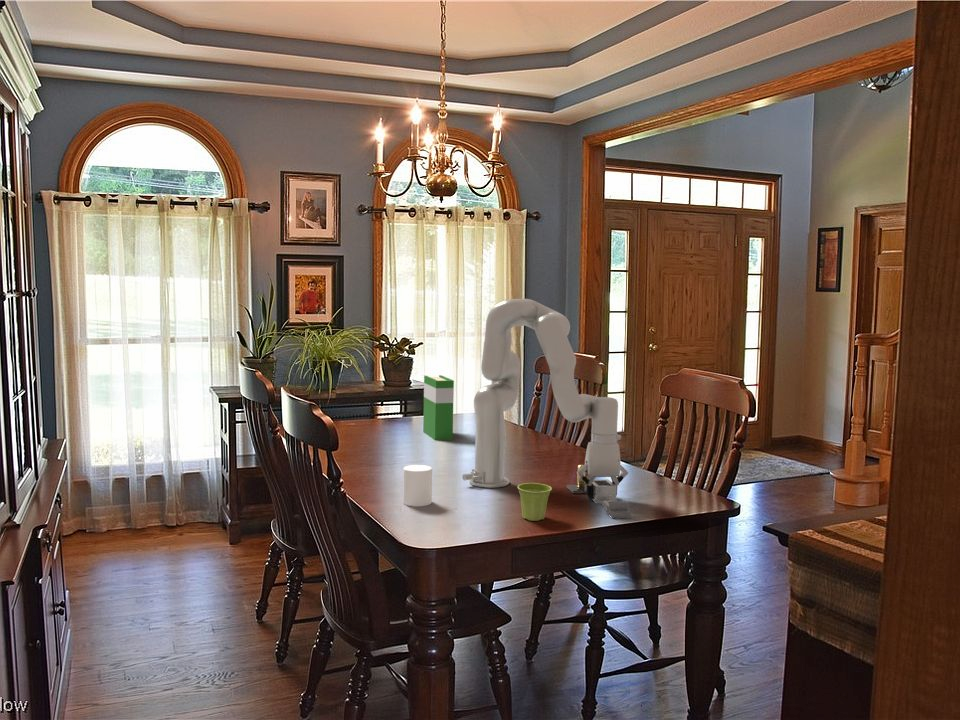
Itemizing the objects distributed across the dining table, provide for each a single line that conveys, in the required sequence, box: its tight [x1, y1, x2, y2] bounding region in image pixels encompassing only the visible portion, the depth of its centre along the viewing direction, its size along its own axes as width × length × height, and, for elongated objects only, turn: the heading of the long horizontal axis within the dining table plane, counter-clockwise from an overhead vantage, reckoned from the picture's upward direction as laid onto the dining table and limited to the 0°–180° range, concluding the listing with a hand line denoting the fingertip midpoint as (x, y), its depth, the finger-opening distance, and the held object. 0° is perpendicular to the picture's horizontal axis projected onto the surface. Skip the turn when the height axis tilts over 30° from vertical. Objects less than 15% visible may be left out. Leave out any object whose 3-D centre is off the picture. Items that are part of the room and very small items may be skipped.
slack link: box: [601, 501, 609, 510], centre depth 236 cm, size 6×4×2 cm, turn 9°
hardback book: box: [422, 374, 455, 441], centre depth 336 cm, size 18×7×24 cm, turn 19°
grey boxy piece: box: [606, 500, 631, 519], centre depth 228 cm, size 5×5×4 cm
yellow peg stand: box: [566, 464, 587, 494], centre depth 254 cm, size 7×7×8 cm
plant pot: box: [517, 482, 553, 522], centre depth 224 cm, size 9×9×9 cm
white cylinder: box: [402, 464, 433, 508], centre depth 238 cm, size 8×10×12 cm
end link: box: [591, 478, 618, 504], centre depth 245 cm, size 8×6×5 cm
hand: (601, 497), depth 245 cm, fingers closed on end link, 6 cm apart
